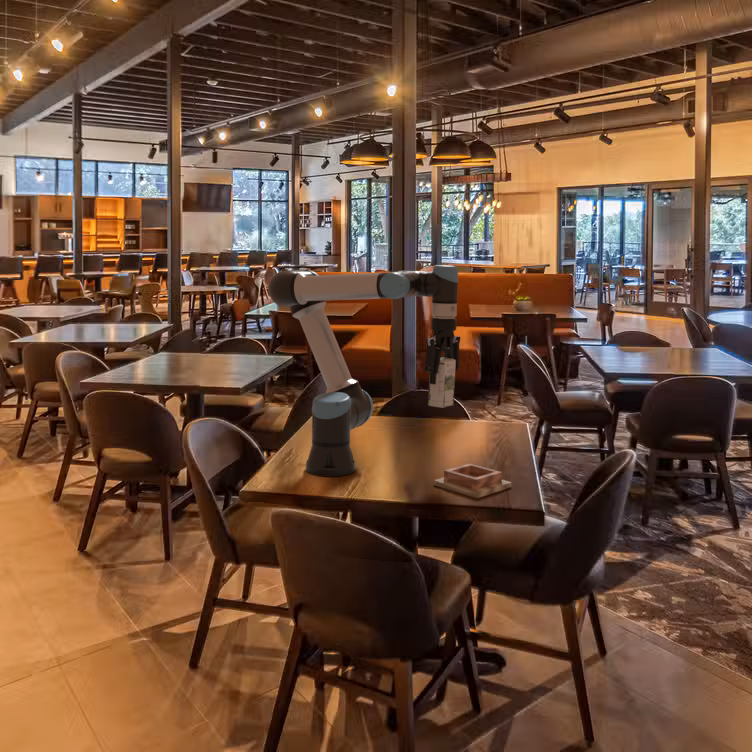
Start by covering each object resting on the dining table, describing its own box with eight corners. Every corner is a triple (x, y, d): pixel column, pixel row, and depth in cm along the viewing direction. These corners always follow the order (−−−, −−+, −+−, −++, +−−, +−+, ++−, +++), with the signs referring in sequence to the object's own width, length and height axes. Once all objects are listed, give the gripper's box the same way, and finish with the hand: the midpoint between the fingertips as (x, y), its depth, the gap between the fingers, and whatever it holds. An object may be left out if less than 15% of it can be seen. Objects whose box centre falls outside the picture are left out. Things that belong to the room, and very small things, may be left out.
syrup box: (438, 403, 247) (439, 356, 245) (454, 405, 243) (456, 358, 241) (427, 405, 243) (429, 358, 240) (443, 408, 239) (445, 360, 237)
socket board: (476, 498, 222) (477, 482, 222) (433, 485, 233) (434, 470, 233) (511, 487, 233) (511, 472, 233) (468, 475, 245) (469, 460, 244)
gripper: (432, 319, 229) (430, 398, 233) (473, 316, 243) (470, 391, 246) (413, 317, 235) (411, 395, 238) (454, 315, 248) (451, 388, 252)
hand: (441, 393), depth 242 cm, fingers closed on syrup box, 6 cm apart
